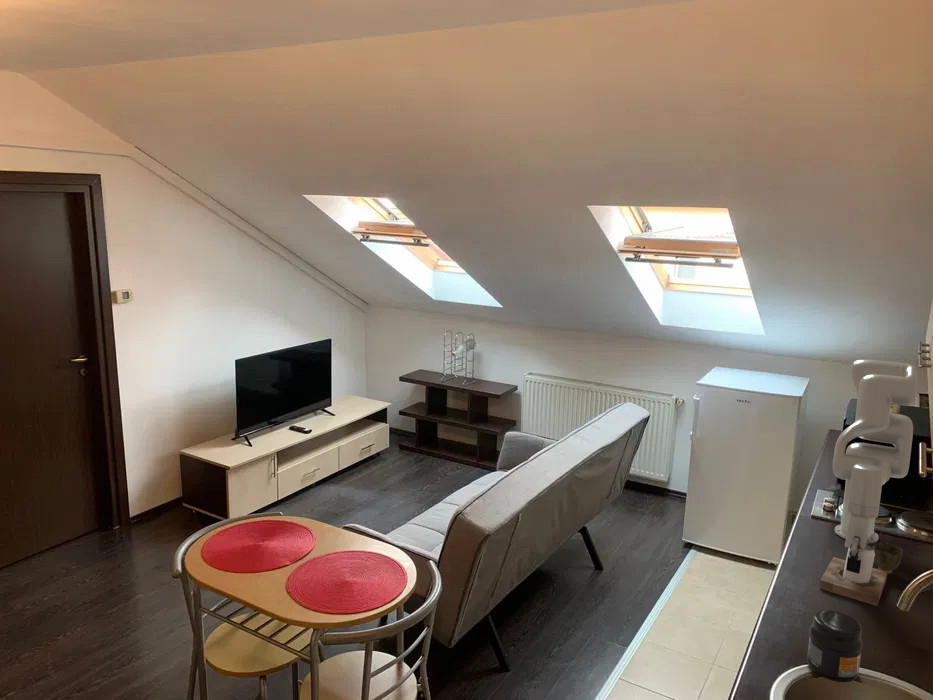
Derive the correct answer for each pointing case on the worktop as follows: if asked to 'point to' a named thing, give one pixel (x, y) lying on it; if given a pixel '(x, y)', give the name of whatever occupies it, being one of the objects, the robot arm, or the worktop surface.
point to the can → (862, 566)
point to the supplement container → (835, 646)
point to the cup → (887, 556)
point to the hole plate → (853, 583)
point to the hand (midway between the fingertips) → (855, 565)
